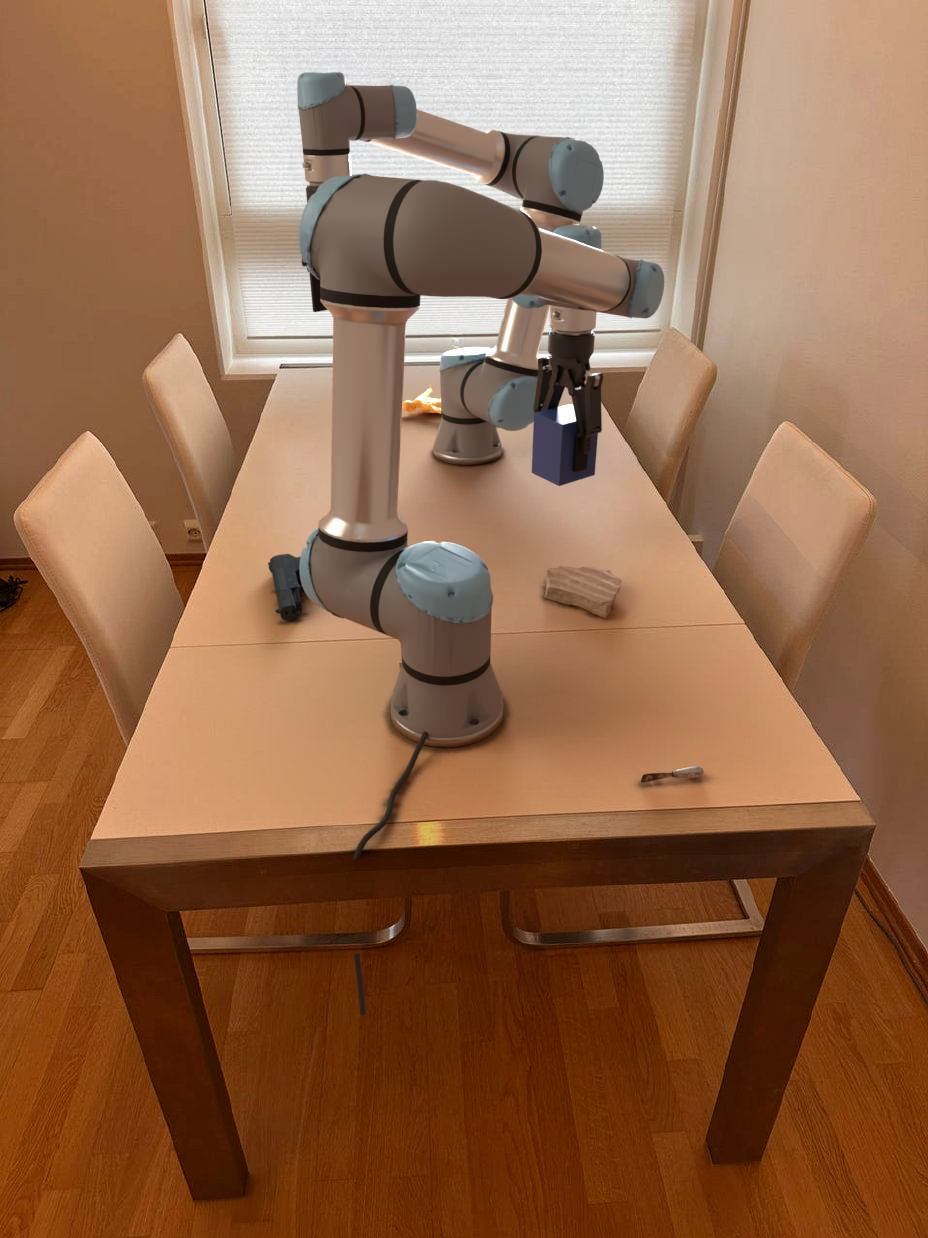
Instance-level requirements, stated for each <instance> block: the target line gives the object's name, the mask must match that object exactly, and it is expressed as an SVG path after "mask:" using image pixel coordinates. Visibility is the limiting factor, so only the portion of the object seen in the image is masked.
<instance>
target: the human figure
mask: <svg viewBox="0 0 928 1238" xmlns="http://www.w3.org/2000/svg"><path fill="white" fill-rule="evenodd" d="M424 391H425V392H423V393H422V394H420V395H418V396H416V398H415V399H414V400H404V401H402V411H404V412H405V413H410V414H412V413H414V412H417V408H418V409H420V410H421V411H423V412H424V413H427V414H439V415H441V398H434V397H429V396H430V395H432V394H433V392H434V391H433V389H432V385H429V387H428V389H424Z"/></svg>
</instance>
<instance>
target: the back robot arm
mask: <svg viewBox="0 0 928 1238" xmlns="http://www.w3.org/2000/svg"><path fill="white" fill-rule="evenodd" d="M296 84H297V85H296V86H297V87H296V92H297V96H296V97H297V110H298V116H299V125H300V135H301V145H302V158H303V162H302V164H301V165H302V168H303V169H304V180H305V181H306V182H307V183H309V184H308V185H306V187H305V194H306V196H305V197H306V203H307V202H308V200H309V198H310V197H311V196H312V195H313V194H315V193H316V191H317V189H318V187H319V186H320V185H321V184H322V183H324V182H325V181H327V180H328V179H331V178H333V177H336V176H342V175H353V173H352V159H351V142H350V141H352V142H353V141H359V142H360V141H361V142H364V143H368V144H371V145H375V146H378V147H380V148H381V147H382V148H385V149H388V150H391V151H394V152H398V153H401V154H404V155H408V156H411V157H414V158H417V159H420V160H424V161H426V162H430V163H434V164H437V165H440V166H443V167H446V168H448V169H452V170H455V171H459V172H462V173H465V174H469V175H473V176H474V178H475V180H476V182H478V183H479V184H481V185H485V186H488V187H490V188H493V189H496V190H498V191H500V192H503V193H504V194H507V195H510V196H512V197H514V198H516V199H519V200H522V202H521V206H520V211H522V212H524V213H526V214H527V215H529V216H530V217H531V218H532V219H533V220H534V222H535V223H536V225H537V226H538V228H541V229H543V230H546V231H549V232H552V233H554V232H555V230H556V228H558V227H560V226H566V225H581V220H582V217H583V213H584V212H585V211H587V210H589V209H591V208H592V206H593V205H594V204H596V203H597V201H598V199H600V196H601V193H602V191H603V187H604V180H605V175H604V173H605V172H604V166H603V162H602V160H601V158H600V154H599V153H598V151H597V150H596V148H595V147H594V146H593V145H592V144H590V143H589V142H587V141H585V140H582V139H578V138H574V137H569V136H565V137H563V136H549V135H539V134H516V133H508V132H504V131H500V130H498V129H489V130H487V131H486V132H484V131H481V130H478V129H475V128H473V127H470V126H467V125H464V124H462V123H458V122H456V121H453V120H450V119H446V118H444V117H440V116H438V115H435V114H433V113H430V112H426V111H423V110H420V109H418V104H417V100H416V97H415V95H414V93H413V91H412V90H411V89H410V88H409V87H407V86H405V85H394V84H388V85H364V84H363V85H360V84H359V85H358V84H348V83H347V81H346V76H345V74H344V73H343V72H340V71H327V72H326V71H325V72H324V71H322V72H321V71H320V72H319V71H318V72H316V71H315V72H314V71H313V72H312V71H311V72H310V71H309V72H308V71H307V72H302V73H300V74H299V75H298V77H297V83H296ZM301 265H302V267H306V271H307V272H308V274H309V282H310V283H309V284H310V295H311V305H312V306H311V307H312V312H314V313H318V312H324V311H328V309H327V308H326V307H325V306H324V305H323V304H322V303H321V301H320V280H318V279H317V278H316V277H315V276H313V275H312V274H311V273H310V272H309V270H308V269H307V263H305V262H304V261H303V259H302V258H301ZM549 313H550V305H544V306H543V307H540V308H531V309H526V308H523V307H520V306H519V305H517V304H516V303H515V302H514V301H513V300H512V298H510V299H506V301H505V306H504V310H503V314H502V319H501V322H500V326H499V331H498V335H497V338H496V343H495V346H494V347H493V348H490V347H487V346H486V347H485V346H469V347H460V348H454V349H450V350H447V351H445V352H444V353H442V355H441V356H440V360H439V375H440V378H439V379H440V382H439V383H440V399H441V414H440V416H441V417H440V422H439V426H438V429H437V431H436V436H435V439H434V442H433V455H434V456H435V458H436V459H438V460H440V461H442V462H445V463H448V464H453V465H459V466H461V465H462V466H473V465H481V464H487V463H490V462H493V461H495V460H497V459H498V458H499V457H500V456H501V455H502V441H501V438H500V435H499V432H498V429H502V430H505V431H508V432H517V431H521V430H524V429H526V428H527V427H528V426H529V425H530V424H531V425H532V424H534V411H533V408H534V401H535V394H536V387H537V380H538V372H539V371H538V353H539V349H540V345H541V343H542V338H543V335H544V330H545V327H546V323H547V319H548V315H549ZM541 405H542V404H541Z"/></svg>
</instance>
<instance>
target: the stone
mask: <svg viewBox="0 0 928 1238" xmlns="http://www.w3.org/2000/svg"><path fill="white" fill-rule="evenodd" d="M621 584H622V578H620V577H619V576H617V575H615V574H614V573H612V570H611V569H601V568H598V567H595V566H581V567H573V566H563V565H562V566H561V565H560V566H558V567H547V569H546V574H545V593H544V598H545V599H547V600H550V601H555V602H558V603H562V604H563V605H572V606H576V607H579V608H581V609H584V610H586V611H588V612H589V613H592V614H593V615H596V616H598V617H601V618H603V619H607V618H608V615H609V614H610V612H611V609H612V604H614V603H615V600H616V599H617V596H618V594H619V592H620V590H621Z"/></svg>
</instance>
